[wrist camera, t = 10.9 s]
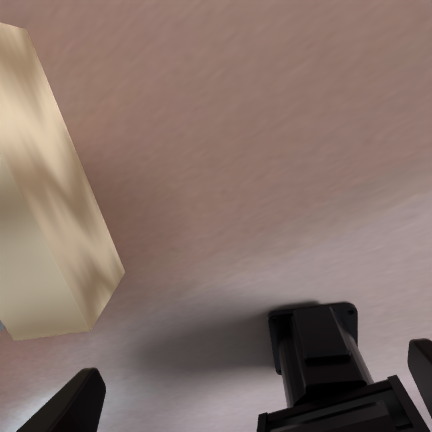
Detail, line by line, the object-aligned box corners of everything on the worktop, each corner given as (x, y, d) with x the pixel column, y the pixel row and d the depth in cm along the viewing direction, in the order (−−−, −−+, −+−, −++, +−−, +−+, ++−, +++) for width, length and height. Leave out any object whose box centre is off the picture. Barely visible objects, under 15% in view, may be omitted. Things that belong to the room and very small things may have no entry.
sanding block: (126, 270, 22) (90, 330, 17) (66, 280, 23) (13, 341, 18) (29, 30, 16) (-76, 1, 11) (-48, 53, 17) (-184, 37, 11)
